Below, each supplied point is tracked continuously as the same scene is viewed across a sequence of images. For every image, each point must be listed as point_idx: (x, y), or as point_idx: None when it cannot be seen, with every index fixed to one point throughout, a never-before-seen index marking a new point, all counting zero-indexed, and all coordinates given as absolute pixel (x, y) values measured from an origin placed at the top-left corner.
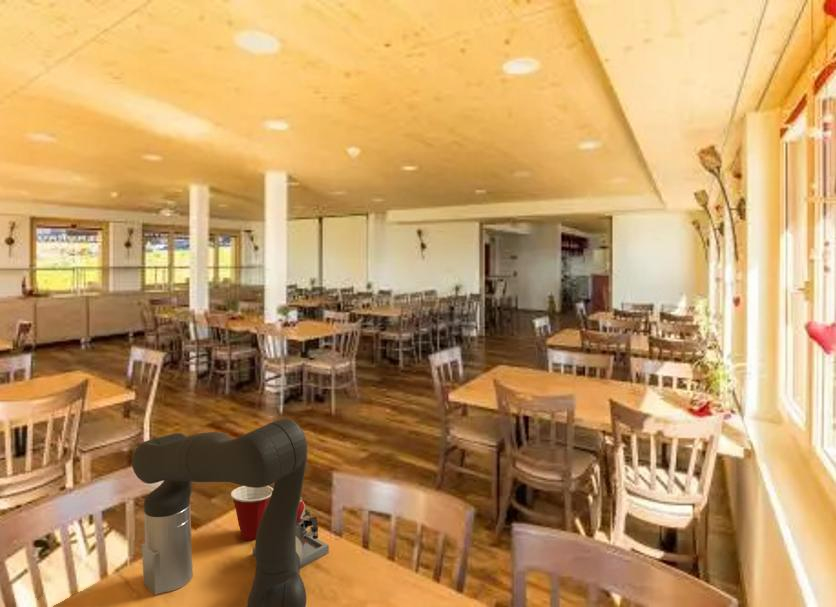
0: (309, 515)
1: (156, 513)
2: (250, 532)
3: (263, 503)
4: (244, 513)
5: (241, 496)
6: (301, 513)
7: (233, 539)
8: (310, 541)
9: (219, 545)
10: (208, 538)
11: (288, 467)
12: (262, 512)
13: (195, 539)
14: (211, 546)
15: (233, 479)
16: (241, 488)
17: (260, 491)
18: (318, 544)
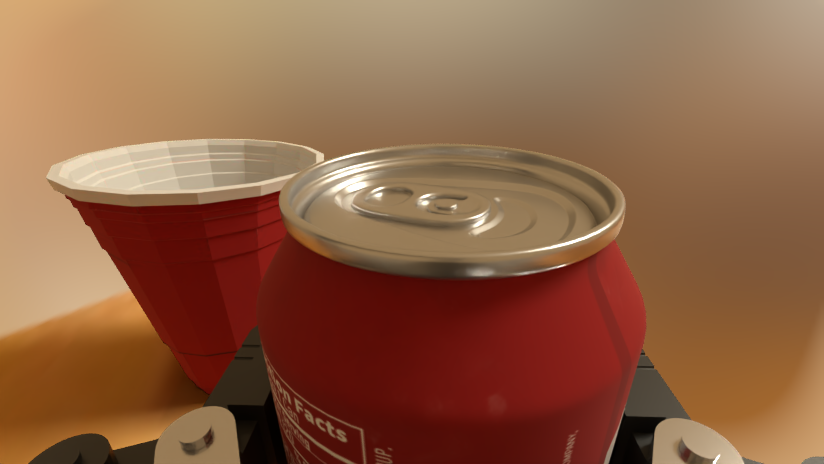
0: (670, 392)
1: None
2: (207, 367)
3: (245, 223)
4: (134, 275)
5: (180, 186)
6: (625, 400)
7: (152, 377)
8: None
9: (63, 411)
10: (60, 355)
11: None
12: (253, 275)
13: (7, 354)
14: (24, 413)
15: None
16: (175, 148)
17: (273, 171)
18: None
